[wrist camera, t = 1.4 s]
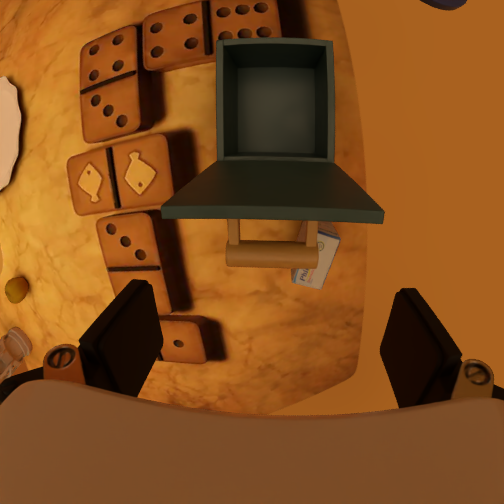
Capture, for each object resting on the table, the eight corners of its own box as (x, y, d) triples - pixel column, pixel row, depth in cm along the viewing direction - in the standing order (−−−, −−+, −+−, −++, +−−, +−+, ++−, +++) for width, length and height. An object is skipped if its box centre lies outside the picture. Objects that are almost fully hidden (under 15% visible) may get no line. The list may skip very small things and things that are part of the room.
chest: (232, 65, 35) (216, 40, 24) (318, 65, 34) (332, 40, 23) (233, 157, 40) (217, 163, 30) (319, 158, 39) (334, 166, 28)
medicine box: (315, 264, 46) (322, 291, 38) (289, 258, 46) (291, 283, 38) (331, 220, 43) (342, 239, 35) (304, 212, 43) (309, 229, 35)
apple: (22, 267, 53) (2, 281, 46) (35, 287, 55) (16, 303, 48) (15, 278, 55) (-3, 292, 48) (28, 297, 57) (10, 312, 50)
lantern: (26, 353, 68) (-11, 398, 45) (9, 329, 65) (-32, 371, 42) (40, 347, 65) (-3, 398, 42) (20, 321, 62) (-27, 368, 39)
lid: (159, 206, 15) (172, 282, 18) (385, 211, 14) (370, 288, 17) (216, 160, 29) (218, 205, 31) (335, 162, 28) (331, 208, 30)
